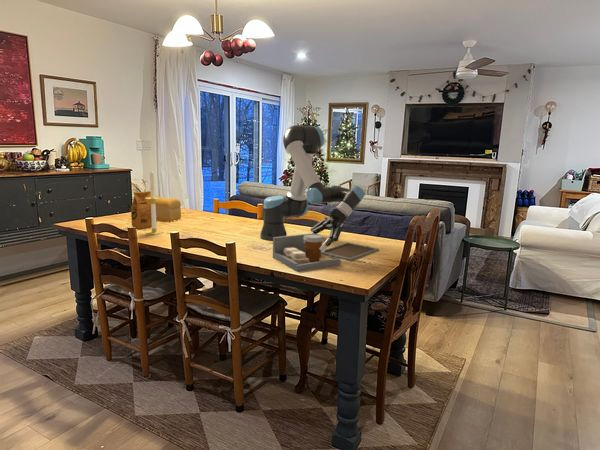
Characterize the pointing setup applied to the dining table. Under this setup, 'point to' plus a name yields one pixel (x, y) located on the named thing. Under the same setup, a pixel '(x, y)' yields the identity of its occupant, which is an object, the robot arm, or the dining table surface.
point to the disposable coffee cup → (313, 246)
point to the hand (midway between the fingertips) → (313, 247)
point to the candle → (152, 204)
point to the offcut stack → (295, 255)
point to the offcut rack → (299, 244)
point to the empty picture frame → (349, 251)
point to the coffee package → (141, 210)
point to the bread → (167, 209)
